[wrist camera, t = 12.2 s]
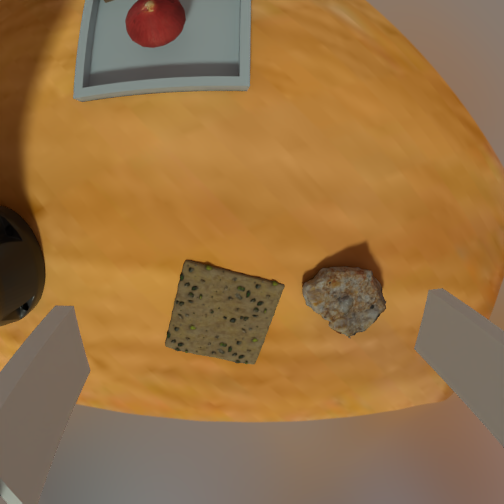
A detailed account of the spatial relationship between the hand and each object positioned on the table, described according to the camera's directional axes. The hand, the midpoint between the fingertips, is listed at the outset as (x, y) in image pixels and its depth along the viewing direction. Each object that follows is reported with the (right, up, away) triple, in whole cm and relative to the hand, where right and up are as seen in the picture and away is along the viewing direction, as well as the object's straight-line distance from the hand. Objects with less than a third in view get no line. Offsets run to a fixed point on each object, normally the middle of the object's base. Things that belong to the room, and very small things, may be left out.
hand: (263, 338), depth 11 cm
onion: (-10, +26, +16) cm, 32 cm away
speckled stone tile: (-4, -5, +28) cm, 28 cm away
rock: (+11, -2, +29) cm, 31 cm away
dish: (-10, +28, +16) cm, 34 cm away
